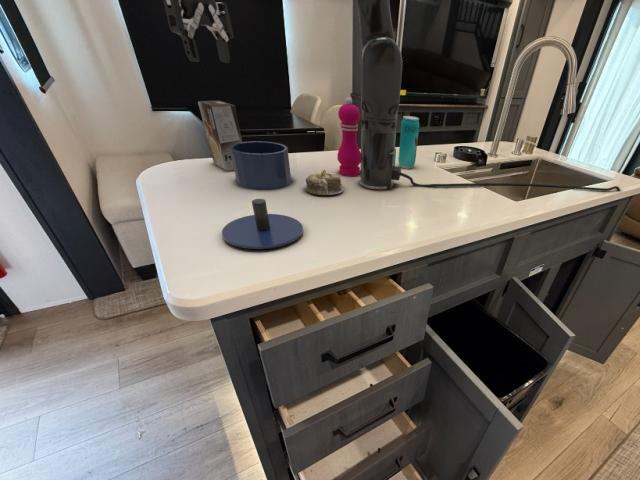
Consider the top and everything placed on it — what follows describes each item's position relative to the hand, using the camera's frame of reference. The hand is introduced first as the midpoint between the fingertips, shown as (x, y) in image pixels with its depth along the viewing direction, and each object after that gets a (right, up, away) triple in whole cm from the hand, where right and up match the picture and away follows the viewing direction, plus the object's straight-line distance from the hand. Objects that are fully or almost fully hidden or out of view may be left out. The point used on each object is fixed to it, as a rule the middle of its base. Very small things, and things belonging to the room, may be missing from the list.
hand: (210, 62), depth 70 cm
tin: (+5, -20, +17) cm, 26 cm away
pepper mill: (+26, -13, +29) cm, 41 cm away
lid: (+15, -39, -7) cm, 42 cm away
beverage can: (+44, -6, +40) cm, 60 cm away
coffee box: (-9, -13, +25) cm, 29 cm away
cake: (+21, -23, +15) cm, 35 cm away
